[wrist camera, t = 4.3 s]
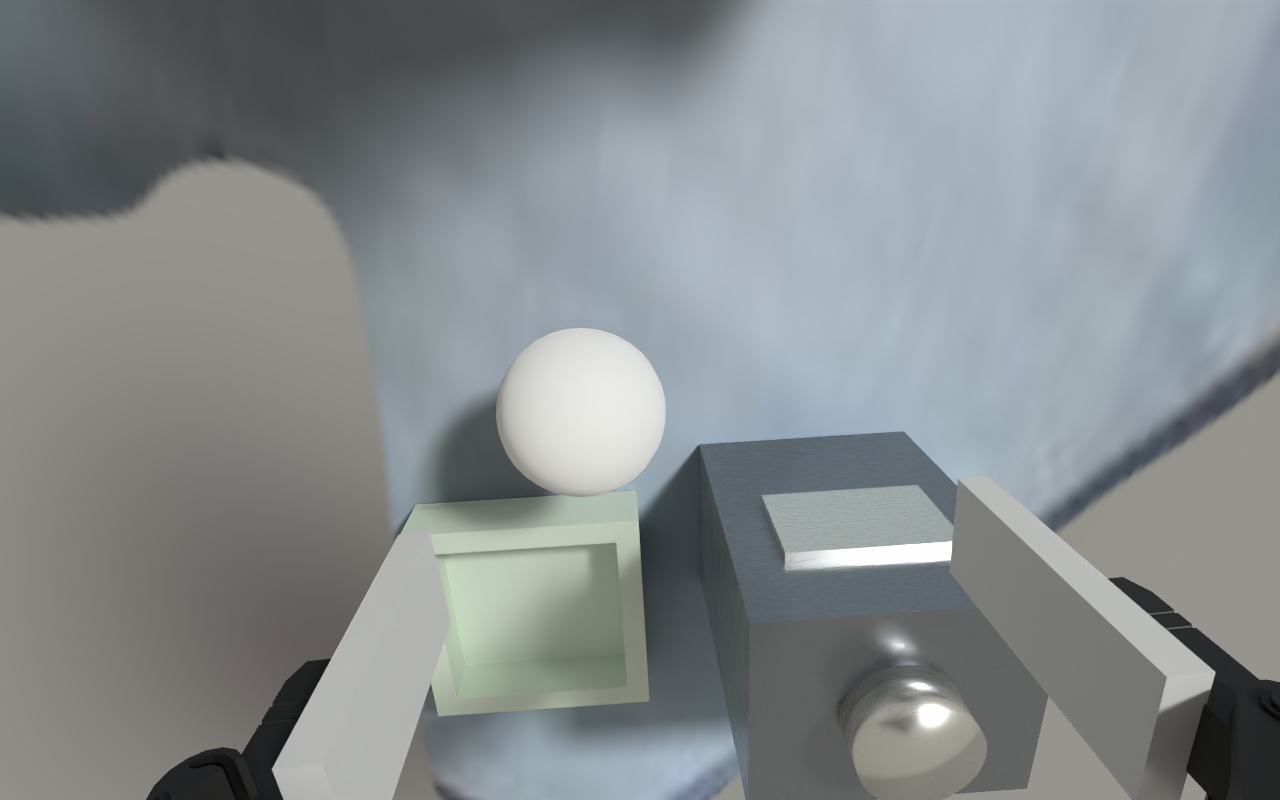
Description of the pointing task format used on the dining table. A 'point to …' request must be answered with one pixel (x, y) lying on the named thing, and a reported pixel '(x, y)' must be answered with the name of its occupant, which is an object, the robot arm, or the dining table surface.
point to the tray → (538, 602)
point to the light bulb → (580, 412)
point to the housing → (854, 627)
